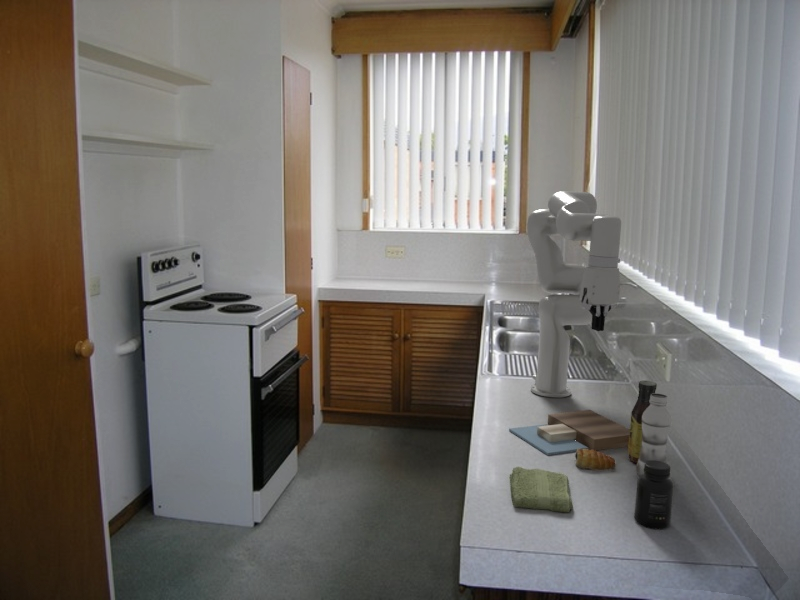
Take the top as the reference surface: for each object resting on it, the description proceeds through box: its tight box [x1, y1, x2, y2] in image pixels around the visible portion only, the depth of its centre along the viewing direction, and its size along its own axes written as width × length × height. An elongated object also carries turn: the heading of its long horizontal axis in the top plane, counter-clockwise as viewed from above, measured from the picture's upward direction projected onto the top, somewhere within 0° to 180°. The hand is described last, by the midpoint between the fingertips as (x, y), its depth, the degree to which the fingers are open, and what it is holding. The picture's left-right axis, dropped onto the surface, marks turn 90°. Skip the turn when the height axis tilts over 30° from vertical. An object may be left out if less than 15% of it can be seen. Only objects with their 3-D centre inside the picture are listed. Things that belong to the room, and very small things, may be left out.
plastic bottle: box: [635, 392, 673, 478], centre depth 159 cm, size 6×7×20 cm
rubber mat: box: [508, 423, 589, 456], centre depth 184 cm, size 18×12×1 cm, turn 23°
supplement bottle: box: [633, 460, 675, 530], centre depth 140 cm, size 7×7×12 cm
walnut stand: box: [547, 409, 630, 451], centre depth 189 cm, size 20×14×3 cm
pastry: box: [574, 448, 616, 471], centre depth 168 cm, size 9×7×4 cm
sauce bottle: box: [627, 380, 658, 464], centre depth 170 cm, size 6×6×20 cm
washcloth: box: [509, 466, 574, 513], centre depth 152 cm, size 13×18×3 cm
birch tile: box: [537, 424, 577, 442], centre depth 185 cm, size 6×8×2 cm
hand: (597, 329), depth 192 cm, fingers closed
